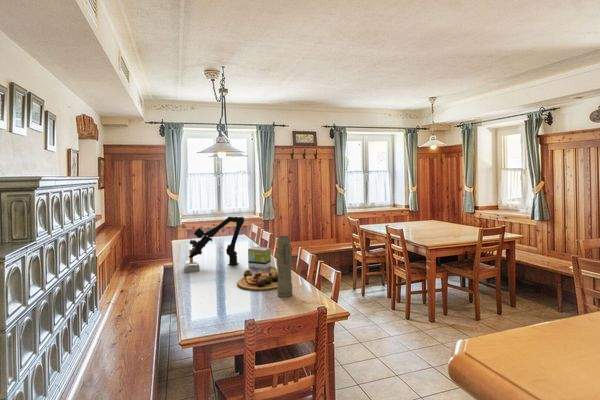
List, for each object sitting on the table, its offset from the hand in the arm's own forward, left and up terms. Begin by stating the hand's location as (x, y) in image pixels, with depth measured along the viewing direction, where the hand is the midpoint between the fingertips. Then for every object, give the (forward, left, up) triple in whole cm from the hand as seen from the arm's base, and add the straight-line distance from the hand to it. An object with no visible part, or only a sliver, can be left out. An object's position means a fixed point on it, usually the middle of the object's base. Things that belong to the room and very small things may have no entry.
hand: (189, 257), depth 293 cm
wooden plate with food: (+20, +75, -8) cm, 78 cm away
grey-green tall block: (+36, +100, -8) cm, 107 cm away
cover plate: (-3, -1, -5) cm, 6 cm away
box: (+7, +8, -8) cm, 13 cm away
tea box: (-19, +52, -8) cm, 56 cm away
